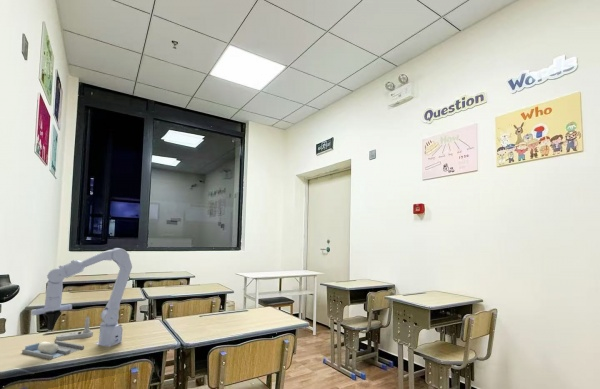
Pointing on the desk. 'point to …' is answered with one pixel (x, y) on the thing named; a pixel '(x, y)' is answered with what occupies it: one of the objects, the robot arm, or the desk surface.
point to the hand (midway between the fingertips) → (50, 329)
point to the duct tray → (62, 350)
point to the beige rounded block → (48, 347)
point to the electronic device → (75, 335)
